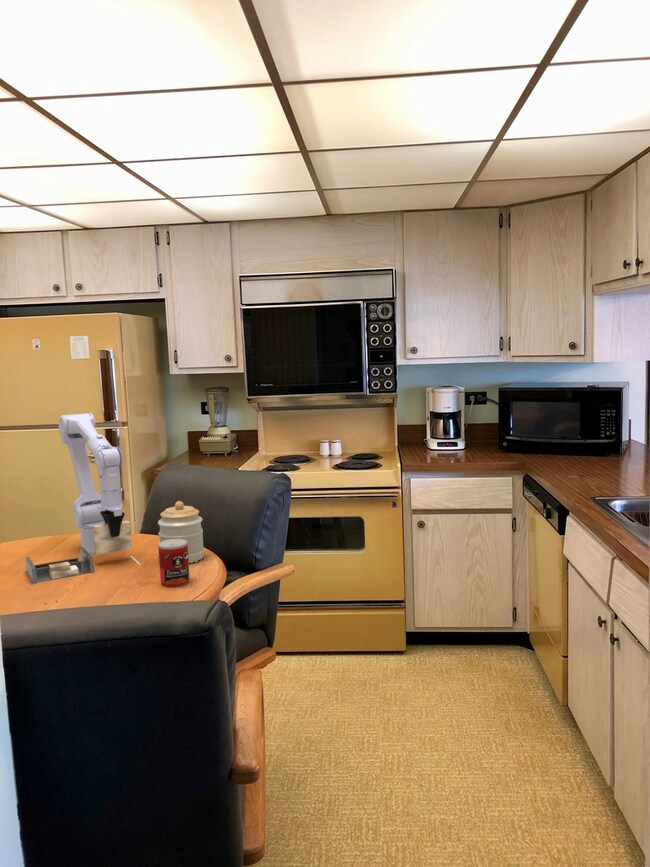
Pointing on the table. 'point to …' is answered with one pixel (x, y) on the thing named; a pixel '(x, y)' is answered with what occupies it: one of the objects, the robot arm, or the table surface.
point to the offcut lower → (65, 572)
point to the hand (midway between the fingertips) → (113, 535)
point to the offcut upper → (59, 567)
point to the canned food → (173, 562)
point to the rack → (42, 570)
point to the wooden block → (111, 538)
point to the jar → (183, 528)
